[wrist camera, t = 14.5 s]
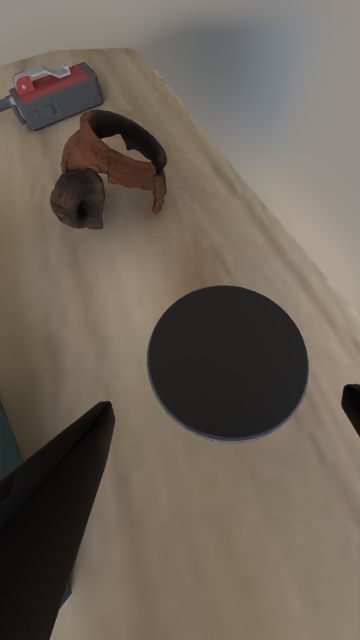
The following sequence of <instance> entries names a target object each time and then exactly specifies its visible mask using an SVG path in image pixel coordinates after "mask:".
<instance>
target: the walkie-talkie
mask: <svg viewBox="0 0 360 640" xmlns="http://www.w3.org/2000/svg"><path fill="white" fill-rule="evenodd" d="M59 64H60V66H61V67H62V69H60V70H57V71H53V70H51V69H48V68H46V67H44V66H42V65H39V66H37V67H34V68H31V69H28V70H27V71H23V72H20V73H17V74H15V75H14V77H13V83H14V86H15V87H14V88H11V89H10V90H9V92H10V94H11V95H9V96H6V97H5V99H2V100H0V112H1V111H3V110H6V109H9V108H12V109H13V110H14V112H15V114H16V116H17V117H18V119H19V120H20V122H21V124H22V125H25V124H26V123H25V121H27V123H28V124H29V126H30V128H31V129H32V130H38V129H41V128H43V127H46V126H48V125H51V124H53V123H55V122H58V121H60V120H63V119H65V118H68V117H70V116H73V115H75V114H78V113H80V112H83V111H85V110H88V109H90V108H93V107H95V106H98V105H100V104H101V103H102V101H103V100H104V98H103V95H102V92H101V88H100V85H99V82H98V79H97V75H96V73H95V72H94V71H93V70H92V69H91V68H90V67H89V66H88V65H87V64H86V63H84V62H83V63H80V64H77V65H74V66H72V67H70V68H69V67H68V66H67V65H66V64H65V63H64V62H63V61H61V62H60V63H59ZM45 72H46V73H49V74H50V75H47V76H45V77H42V78H39V79H37V80H34V81H31V80H30V78H29V77H34V76H37V75H40V74H43V73H45Z"/></svg>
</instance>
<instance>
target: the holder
mask: <svg viewBox="0 0 360 640" xmlns="http://www.w3.org/2000/svg"><path fill="white" fill-rule="evenodd" d="M147 369H148V376H149V380H150V383H151V387H152V389H153V391H154V394H155V396H156V398H157V399H158V401H159V403H160V404H161V406H162V407H163V408H164V410H165V411H166V412H167V413H168V415H169V416H170V417H171V418H172V419H174V420H175V421H176V422H177V423H178V424H179V425H181V426H182V427H183V428H185V429H186V430H188V431H190V432H192V433H193V434H195V435H197V436H200V437H203V438H205V439H208V440H212V441H217V442H223V443H242V442H248V441H253V440H257V439H259V438H262V437H265V436H267V435H269V434H271V433H272V432H274V431H276V430H278V429H279V428H280V427H281V426H283V425H284V424H285V423H286V422H287V421H288V420H289V419H290V418H291V417H292V416H293V414H294V413H295V412H296V410H297V409H298V407H299V405H300V404H301V402H302V399H303V397H304V395H305V392H306V388H307V384H308V376H309V361H308V355H307V350H306V347H305V344H304V341H303V338H302V336H301V334H300V332H299V330H298V328H297V326H296V325H295V323H294V322H293V320H292V319H291V318H290V317H289V315H288V314H287V313H286V312H285V311H284V310H283V309H282V308H281V307H280V306H278V305H277V304H276V303H275V302H273V301H272V300H270V299H269V298H267V297H265V296H264V295H261V294H259V293H257V292H255V291H252V290H249V289H246V288H241V287H236V286H212V287H207V288H202V289H199V290H196V291H193V292H191V293H189V294H187V295H185V296H184V297H182V298H180V299H179V300H177V301H176V302H175V303H174V304H173V305H171V306H170V307H169V308H168V309H167V310H166V311H165V312H164V314H163V315H162V316H161V318H160V319H159V320H158V322H157V324H156V326H155V328H154V330H153V332H152V335H151V337H150V341H149V345H148V351H147Z"/></svg>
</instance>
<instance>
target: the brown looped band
mask: <svg viewBox="0 0 360 640" xmlns="http://www.w3.org/2000/svg"><path fill="white" fill-rule="evenodd" d="M116 134H120V135H121V136H122V138H123V140H124V142H125V144H126V149H127V150H131V149H134V150H137V151H139V152H140V153H141V154H142V155H144V157H146V158H147V159H149V160H151V162H152V163H151V162H143V161H138V160H134V159H132V158H130V157H127V156H125V155H123V154H121V153H119V152H117V151H115V150H113V149H111V148H109V147H108V146H107V145H106V144H105V143H104V142H103V141H101V139H102V138H106V137H111V136H114V135H116ZM166 163H167V157H166V153H165V151H164V149H163V147H162V146H161V145H160V144H159V143H158V141H157V140H156V139H155V138H154V136H152V135H151V134H150V133H149V132H148V131H147V130H145V129H144V128H143V127H141V126H140V125H138V124H137V123H135V122H133V121H132V120H130V119H128V118H126V117H124V116H122V115H119V114H117V113H113V112H110V111H104V110H90V111H89V112H85V113H84V114H83V115H82V116H81V118H80V129H79V130H78V131H76V132H75V134H73V135H72V136H71V137H70V138H69V140H68V142H67V143H66V144H65V146H64V150H63V155H62V162H61V167H62V175H61V176H60V178H59V180H58V181H57V182H56V184H55V188H54V190H53V191H52V193H51V197H50V205H51V208H52V210H53V212H54V213H55V215H56V216H57V218H58V219H59V220H60V222H62V223H64V224H66V225H68V226H70V227H72V228H77V229H80V228H85V227H88V228H90V229H102V228H103V223H102V210H103V203H104V200H105V191H104V184H103V180H102V179H101V177H100V176H99V175H98V174H97V173H105V174H107V175H108V182H109V183H112V184H117V185H122V186H125V187H129V188H133V187H135V188H140V189H142V190H149V191H152V190H153V194H154V203H153V208H152V211H153V213H154V214H156V213H158V212H159V211H160V210H161V208H162V204H163V202H164V196H165V194H166V179H165V174H164V170H163V169H164V167H165V165H166ZM155 172H156V174H155Z"/></svg>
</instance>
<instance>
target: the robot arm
mask: <svg viewBox="0 0 360 640" xmlns="http://www.w3.org/2000/svg"><path fill="white" fill-rule="evenodd" d="M341 405H342V408H343V410H344V412H345V413H346V415H347V417H348V418H349V420H350V422H351V423H352V425H353V427H354V428H355V430H356V432H357V433H358V435H359V437H360V385H359V384H347V385H345V386H344V389H343V395H342V401H341ZM114 425H115V416H114V412H113V408H112V404H111V402H109V401H103V402H99V403H98V404H96V405H95V406H94V407H93V408H91V409H90V410H89V411H88V412H86V413H85V414H84V415H83V416H81V417H80V418H79V419H77V420H76V421H75V422H74V423H72V424H71V425H70V426H69V427H67V428H66V429H65V430H64V431H62V432H61V433H60V434H59V435H57V436H56V437H55V438H54V439H52V440H51V441H50V442H49V443H47V444H46V445H45V446H44V447H42V448H41V449H40V450H39V451H37V452H36V453H35V454H34V455H32V456H31V457H30V458H29V459H27V460H26V461H25V462H24V463H22V464H21V465H20V466H18V467H17V468H16V469H15V471H12V472H11V473H10V474H8V475H7V476H6V477H5V478H3V479H2V480H1V481H0V640H49V639H50V636H51V633H52V630H53V627H54V624H55V621H56V618H57V615H58V611H59V608H60V605H61V602H62V599H63V596H64V593H65V590H66V587H67V584H68V580H69V577H70V574H71V571H72V568H73V565H74V562H75V559H76V556H77V553H78V549H79V546H80V543H81V540H82V537H83V534H84V531H85V528H86V525H87V522H88V518H89V515H90V512H91V509H92V506H93V503H94V500H95V497H96V494H97V491H98V487H99V484H100V481H101V478H102V475H103V472H104V469H105V465H106V462H107V458H108V453H109V449H110V444H111V439H112V434H113V430H114Z"/></svg>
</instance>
